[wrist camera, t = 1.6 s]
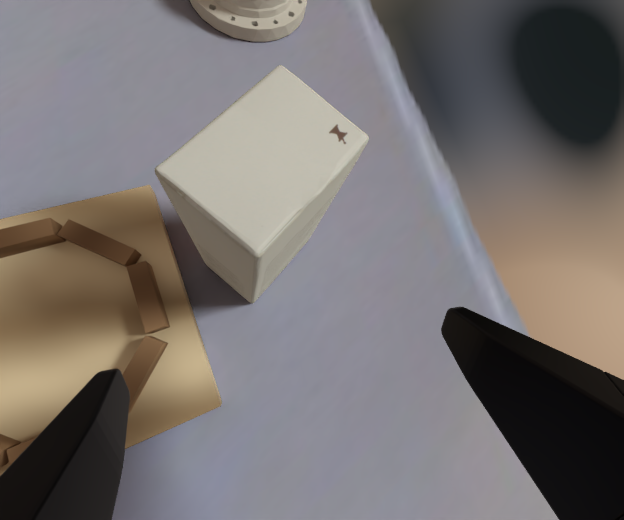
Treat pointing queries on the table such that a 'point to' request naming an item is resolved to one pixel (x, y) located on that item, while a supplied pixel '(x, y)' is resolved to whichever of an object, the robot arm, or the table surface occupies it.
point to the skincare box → (261, 179)
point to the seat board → (96, 318)
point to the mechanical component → (252, 17)
